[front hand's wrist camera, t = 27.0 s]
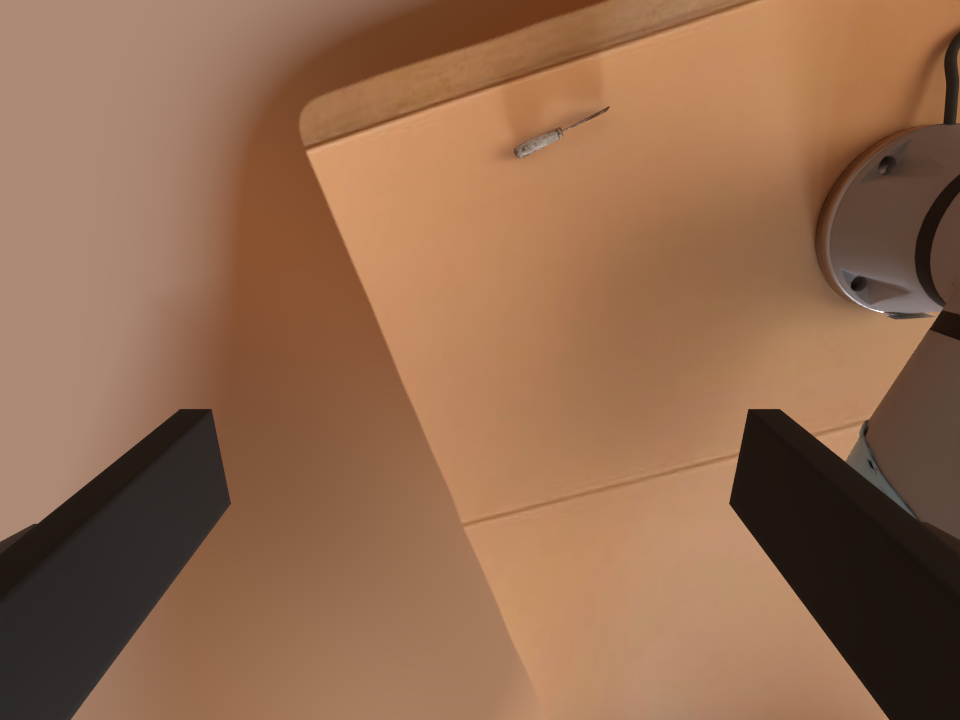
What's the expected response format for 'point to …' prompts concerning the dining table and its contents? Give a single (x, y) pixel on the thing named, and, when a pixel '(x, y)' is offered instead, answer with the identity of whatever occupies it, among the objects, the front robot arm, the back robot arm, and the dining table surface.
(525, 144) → the putty knife
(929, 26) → the dining table surface
